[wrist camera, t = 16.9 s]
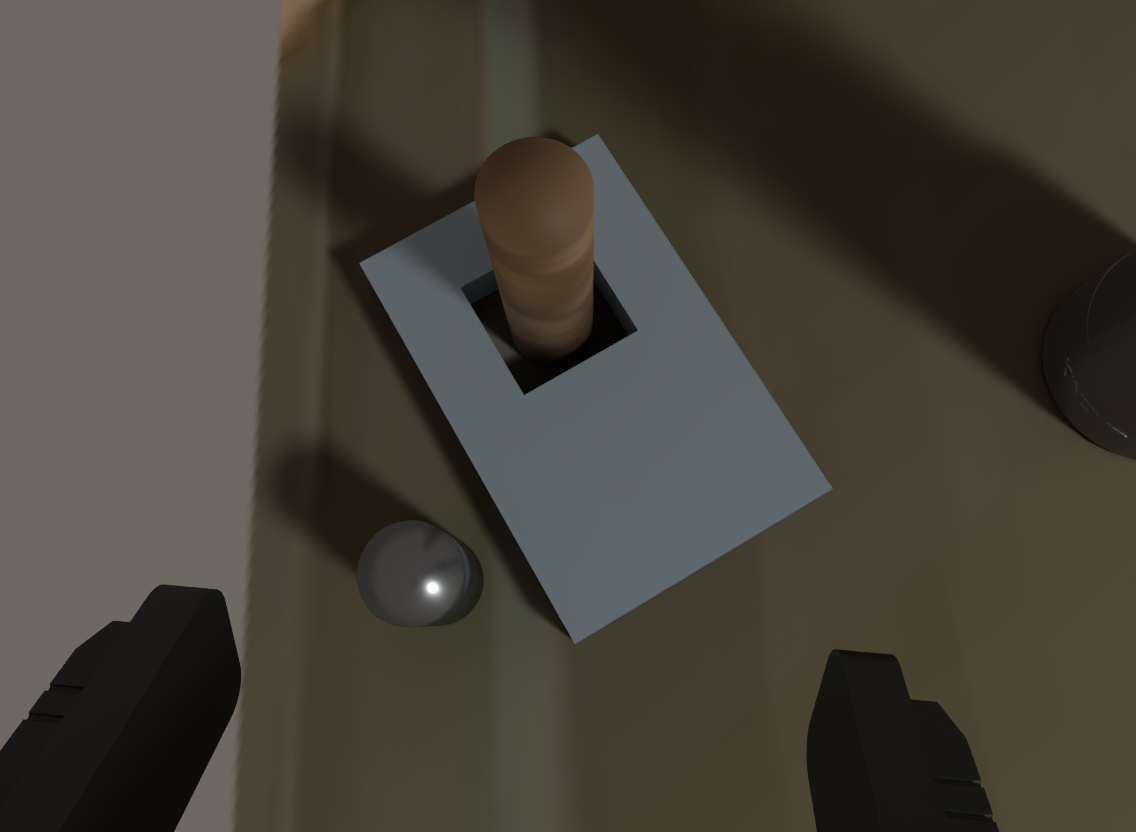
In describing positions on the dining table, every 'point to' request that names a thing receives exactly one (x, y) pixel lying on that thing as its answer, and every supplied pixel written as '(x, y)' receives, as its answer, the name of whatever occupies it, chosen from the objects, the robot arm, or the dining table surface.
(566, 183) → the long pin
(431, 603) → the short pin
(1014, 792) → the dining table surface
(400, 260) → the hole board
